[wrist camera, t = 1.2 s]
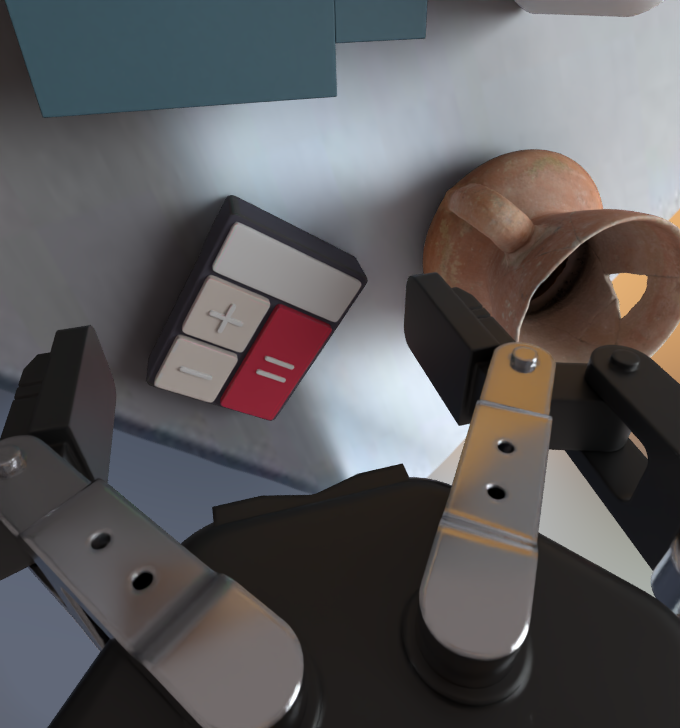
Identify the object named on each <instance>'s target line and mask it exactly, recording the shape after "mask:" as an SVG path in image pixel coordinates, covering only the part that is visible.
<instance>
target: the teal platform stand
mask: <svg viewBox="0 0 680 728" xmlns="http://www.w3.org/2000/svg"><path fill="white" fill-rule="evenodd" d="M5 3H6V6H7V9H8V12H9V15H10V18H11V21H12V24H13V27H14V31H15V34H16V37H17V40H18V43H19V46H20V49H21V52H22V55H23V58H24V61H25V64H26V67H27V70H28V73H29V76H30V80H31V83H32V86H33V89H34V92H35V95H36V98H37V101H38V104H39V107H40V110H41V113H42V116H43V117H44V118H48V117H62V116H76V115H90V114H103V113H117V112H131V111H145V110H159V109H173V108H186V107H200V106H214V105H228V104H242V103H255V102H269V101H283V100H297V99H311V98H325V97H336V96H337V82H336V48H335V43H350V42H369V41H388V40H407V39H425V37H426V18H427V0H5Z"/></svg>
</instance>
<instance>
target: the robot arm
mask: <svg viewBox="0 0 680 728" xmlns="http://www.w3.org/2000/svg"><path fill="white" fill-rule="evenodd" d="M404 333H405V338H406V342H407V344H408V346H409V348H410V350H411V351H412V353H413V354H414V356H415V358H416V359H417V361H418V362H419V364H420V365H421V367H422V369H423V370H424V372H425V373H426V375H427V377H428V378H429V380H430V381H431V383H432V384H433V386H434V388H435V389H436V391H437V392H438V394H439V395H440V397H441V399H442V400H443V402H444V403H445V405H446V406H447V408H448V410H449V411H450V413H451V414H452V416H453V417H454V419H455V421H456V422H457V424H458V425H459V426H461V425H465V424H470V426H469V430H468V433H467V436H466V440H465V443H464V447H463V450H462V453H461V457H460V460H459V463H458V467H457V470H456V474H455V477H454V480H453V484H452V485H449V484H447V483H443V482H440V481H437V480H432V479H427V478H418V477H409V476H408V474H407V472H406V470H405V468H404V465H403V464H398V465H394V466H389V467H385V468H381V469H376V470H372V471H368V472H363V473H359V474H356V475H354V476H352V477H350V478H348V479H346V480H344V481H342V482H340V483H338V484H335V485H333V486H331V487H329V488H327V489H325V490H323V491H321V492H319V493H316V494H312V495H277V496H276V495H275V496H258V497H254V498H249V499H245V500H241V501H236V502H232V503H228V504H223V505H219V506H214V507H212V509H213V520H214V522H213V523H211V524H209V525H207V526H205V527H203V528H202V529H200V530H199V531H197V532H195V533H194V534H192V535H191V536H190V537H188V538H187V539H186V540H184V541H183V542H182V543H181V544H180V543H179V542H178V541H176V540H175V539H174V538H173V537H172V536H170V535H169V534H168V533H167V532H166V531H164V530H163V529H162V528H161V527H160V526H158V525H157V524H156V523H155V522H154V521H152V520H151V519H150V518H149V517H148V516H146V515H145V514H144V513H143V512H142V511H140V510H139V509H138V508H137V507H136V506H134V505H133V504H132V503H131V502H129V501H128V500H127V499H126V498H125V497H124V496H122V495H121V494H120V493H119V492H118V491H116V490H115V489H114V488H113V487H112V486H110V485H109V484H108V473H109V463H110V454H111V444H112V434H113V425H114V415H115V406H116V389H115V384H114V379H113V376H112V373H111V371H110V368H109V365H108V363H107V360H106V357H105V355H104V352H103V350H102V347H101V344H100V342H99V339H98V336H97V334H96V331H95V330H94V328H93V327H92V326H91V325H88V326H82V327H75V328H69V329H63V330H58V331H57V332H56V334H55V338H54V341H53V345H52V349H51V352H50V353H44V354H38V355H37V356H36V357H35V358H34V359H33V360H32V361H31V362H30V363H29V364H28V365H27V366H26V367H25V368H24V370H23V373H22V375H21V378H20V381H19V384H18V385H19V388H17V390H16V393H15V396H14V398H15V400H13V402H12V405H11V408H10V411H9V414H8V417H7V420H6V423H5V426H4V429H3V432H2V435H1V438H0V580H2V579H4V578H6V577H8V576H10V575H12V574H14V573H16V572H18V571H20V570H22V569H24V568H26V567H28V568H29V569H30V571H31V572H32V573H33V574H34V575H35V576H36V577H37V578H38V580H39V581H40V582H41V583H42V584H43V585H44V586H45V587H46V588H47V590H48V591H49V592H50V593H51V594H52V595H53V596H54V597H55V598H56V599H57V601H58V602H59V603H60V604H61V605H62V606H63V607H64V608H65V610H66V611H67V612H68V613H69V614H70V615H71V616H72V617H73V619H74V620H75V621H76V622H77V623H78V624H79V626H80V627H81V628H82V629H83V631H84V632H85V633H86V635H87V636H88V637H89V638H90V640H91V641H92V642H93V643H94V645H95V646H96V647H97V648H98V649H99V650H100V653H99V655H98V657H97V658H96V659H95V661H94V662H93V663H92V665H91V666H90V668H89V669H88V671H87V672H86V673H85V675H84V676H83V678H82V679H81V681H80V682H79V683H78V685H77V686H76V688H75V689H74V691H73V692H72V693H71V695H70V696H69V698H68V699H67V701H66V702H65V703H64V705H63V706H62V708H61V709H60V711H59V712H58V713H57V715H56V716H55V718H54V719H53V720H52V722H51V723H50V725H49V726H48V728H680V384H679V383H678V382H677V381H676V380H674V379H673V378H672V377H671V376H670V375H669V374H668V373H667V372H665V371H664V370H663V369H662V368H661V367H660V366H659V365H658V364H657V363H655V362H654V361H653V360H652V359H651V358H650V357H648V356H647V355H646V354H644V353H642V352H640V351H638V350H636V349H633V348H630V347H626V346H621V345H604V346H600V347H598V348H596V349H594V351H593V352H592V353H591V356H590V359H589V362H588V363H562V362H555V360H554V358H553V356H552V355H551V354H550V353H549V352H547V351H546V350H545V349H543V348H541V347H539V346H536V345H533V344H530V343H524V342H516V341H515V340H514V339H513V338H512V337H511V336H510V335H509V334H508V333H507V332H506V331H505V329H504V328H503V327H502V326H501V325H500V324H499V323H498V322H497V321H496V320H495V319H494V318H493V316H492V317H491V316H490V313H489V312H488V311H487V310H486V309H485V308H483V306H482V305H481V303H480V302H479V301H478V300H477V299H476V298H475V297H474V296H473V295H472V294H470V293H468V292H466V291H464V290H462V289H460V288H458V287H453V288H451V287H450V286H449V285H448V284H447V283H446V281H445V280H444V279H443V278H442V277H441V276H440V275H439V274H438V273H437V272H433V273H426V274H420V275H414V276H409V277H408V279H407V284H406V298H405V314H404ZM630 432H632V433H633V434H634V435H635V436H636V437H637V438H638V439H639V440H640V442H641V443H642V444H643V446H644V447H645V449H646V452H647V455H648V459H647V458H646V457H645V456H644V455H643V453H642V452H641V451H640V450H639V449H638V448H637V447H636V446H635V444H634V443H633V442H632V441H631V440H630V439H629V438H628V437H629V435H630ZM549 449H552V450H565V451H566V453H567V454H568V455H569V457H570V458H571V460H572V461H573V462H574V464H575V465H576V466H577V468H578V469H579V470H580V472H581V473H582V475H583V476H584V477H585V479H586V480H587V481H588V483H589V484H590V485H591V487H592V488H593V490H594V491H595V492H596V494H597V495H598V496H599V498H600V499H601V500H602V502H603V503H604V505H605V506H606V507H607V509H608V510H609V512H610V513H611V514H612V515H613V517H614V518H615V520H616V521H617V522H618V524H619V525H620V526H621V528H622V529H623V531H624V532H625V533H626V535H627V536H628V537H629V539H630V540H631V542H632V543H633V544H634V546H635V547H636V548H637V550H638V551H639V553H640V554H641V555H642V557H643V558H644V559H645V561H646V562H647V564H648V565H649V566H650V568H651V569H652V570H653V572H652V575H651V587H652V591H653V593H654V596H655V597H656V598H654V597H653V596H651V595H650V594H648V593H646V592H645V591H643V590H641V589H639V588H638V587H636V586H634V585H632V584H630V583H629V582H627V581H625V580H623V579H621V578H619V577H618V576H616V575H614V574H612V573H611V572H609V571H607V570H605V569H603V568H602V567H600V566H598V565H596V564H594V563H593V562H591V561H589V560H587V559H585V558H583V557H582V556H580V555H578V554H576V553H574V552H573V551H571V550H569V549H567V548H566V547H564V546H562V545H560V544H558V543H556V542H555V541H553V540H551V539H549V538H547V537H546V536H544V535H542V534H540V533H539V532H538V530H539V522H540V514H541V506H542V499H543V490H544V483H545V474H546V467H547V458H548V451H549Z"/></svg>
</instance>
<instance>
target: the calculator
mask: <svg viewBox="0 0 680 728" xmlns="http://www.w3.org/2000/svg"><path fill="white" fill-rule="evenodd" d="M366 283H367V277H366V275H365V273H364V272H363V270H362V268H361V266H360V264H359V263H358V261H357V259H356V258H355V257H354V256H352V255H350V254H349V253H347V252H345V251H343V250H341V249H339V248H337V247H335V246H333V245H331V244H329V243H327V242H325V241H323V240H321V239H319V238H317V237H315V236H313V235H311V234H309V233H307V232H305V231H303V230H301V229H299V228H297V227H295V226H293V225H291V224H289V223H287V222H285V221H284V220H282V219H280V218H278V217H276V216H274V215H272V214H270V213H268V212H266V211H264V210H262V209H260V208H258V207H256V206H254V205H252V204H250V203H248V202H246V201H244V200H242V199H240V198H238V197H236V196H233V195H230V196H228V197H227V198H226V199H225V201H224V203H223V205H222V207H221V209H220V211H219V213H218V215H217V217H216V219H215V221H214V223H213V225H212V227H211V229H210V231H209V234H208V236H207V238H206V240H205V243H204V245H203V248H202V251H201V253H200V256H199V258H198V260H197V262H196V264H195V266H194V268H193V270H192V272H191V274H190V276H189V278H188V280H187V282H186V284H185V286H184V288H183V290H182V292H181V294H180V296H179V298H178V300H177V302H176V304H175V306H174V308H173V310H172V312H171V314H170V316H169V318H168V320H167V322H166V324H165V326H164V328H163V330H162V332H161V334H160V336H159V338H158V340H157V342H156V344H155V346H154V348H153V350H152V352H151V355H150V357H149V360H148V368H147V377H146V382H147V383H148V384H149V385H151V386H154V387H157V388H161V389H164V390H167V391H171V392H174V393H178V394H181V395H184V396H188V397H191V398H195V399H198V400H201V401H205V402H208V403H211V404H215V405H218V406H222V407H225V408H228V409H232V410H235V411H239V412H242V413H245V414H249V415H252V416H255V417H259V418H262V419H266V420H269V421H272V420H274V419H276V417H277V416H278V414H279V413H280V411H281V410H282V408H283V407H284V405H285V404H286V402H287V401H288V400H289V398H290V397H291V395H292V394H293V392H294V391H295V389H296V388H297V386H298V385H299V383H300V382H301V380H302V379H303V377H304V376H305V374H306V373H307V371H308V370H309V368H310V367H311V365H312V364H313V362H314V361H315V359H316V358H317V356H318V355H319V353H320V352H321V350H322V349H323V347H324V346H325V345H326V343H327V342H328V340H329V339H330V337H331V336H332V334H333V333H334V331H335V330H336V328H337V327H338V325H339V324H340V322H341V321H342V319H343V318H344V316H345V315H346V313H347V312H348V310H349V309H350V307H351V306H352V304H353V303H354V301H355V300H356V298H357V297H358V295H359V294H360V293H361V291H362V290H363V288H364V287H365V285H366Z"/></svg>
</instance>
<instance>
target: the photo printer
mask: <svg viewBox="0 0 680 728" xmlns="http://www.w3.org/2000/svg"><path fill="white" fill-rule="evenodd" d="M514 1H515V2H516V3H517V4H518V5H519V6H520V7H522V8H523V9H524V10H526V11H527V12H529V13H532V14H561V15H590V16H617V17H630V16H635V15H638V14H641V13H643V12H646V11H648V10H650V9H652V8H654V7H655V6H657V5H659V4H660V3H662V2H663V1H665V0H514Z"/></svg>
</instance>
